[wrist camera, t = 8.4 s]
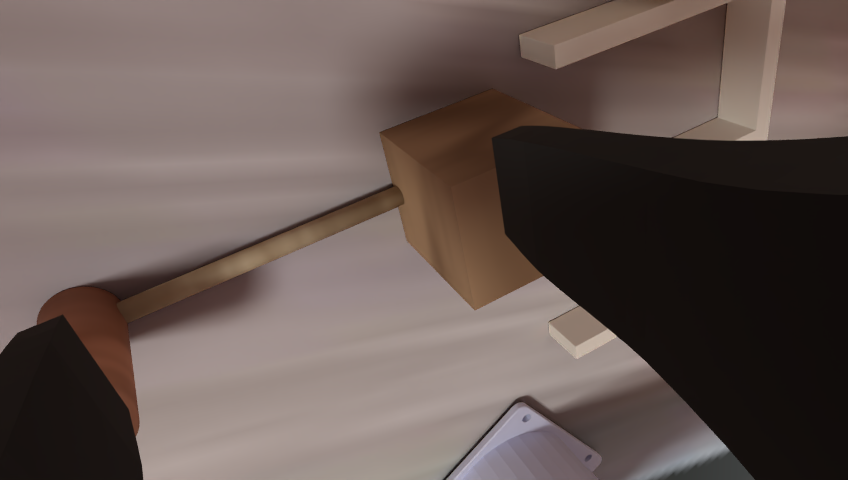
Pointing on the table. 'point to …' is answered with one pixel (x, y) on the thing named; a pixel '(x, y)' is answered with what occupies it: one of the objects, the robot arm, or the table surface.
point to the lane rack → (737, 121)
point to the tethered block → (412, 193)
